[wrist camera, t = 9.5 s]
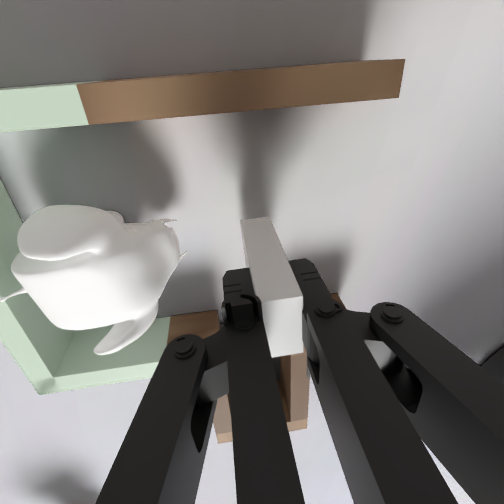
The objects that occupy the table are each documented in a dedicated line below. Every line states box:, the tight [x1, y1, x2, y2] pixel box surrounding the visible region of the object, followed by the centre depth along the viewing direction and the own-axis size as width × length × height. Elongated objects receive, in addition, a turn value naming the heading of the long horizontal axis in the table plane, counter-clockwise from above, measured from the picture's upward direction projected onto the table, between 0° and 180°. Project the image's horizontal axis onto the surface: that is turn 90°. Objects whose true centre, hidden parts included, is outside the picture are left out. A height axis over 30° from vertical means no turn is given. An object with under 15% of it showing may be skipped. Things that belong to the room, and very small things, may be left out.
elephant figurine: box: [0, 205, 187, 355], centre depth 14 cm, size 7×8×6 cm
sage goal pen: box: [0, 80, 170, 395], centre depth 15 cm, size 7×14×4 cm, turn 4°
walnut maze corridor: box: [76, 59, 405, 444], centre depth 18 cm, size 11×22×4 cm, turn 4°
